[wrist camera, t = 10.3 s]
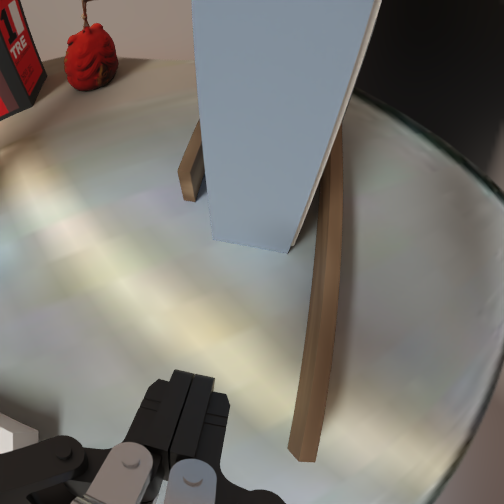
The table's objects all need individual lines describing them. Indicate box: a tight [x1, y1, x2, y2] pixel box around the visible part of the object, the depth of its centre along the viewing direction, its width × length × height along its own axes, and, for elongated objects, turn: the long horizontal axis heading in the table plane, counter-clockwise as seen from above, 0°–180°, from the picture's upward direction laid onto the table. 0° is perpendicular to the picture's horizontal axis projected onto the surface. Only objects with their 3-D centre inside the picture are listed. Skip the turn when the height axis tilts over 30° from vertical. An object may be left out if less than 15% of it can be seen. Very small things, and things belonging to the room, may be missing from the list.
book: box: [192, 0, 382, 254], centre depth 18 cm, size 6×15×21 cm, turn 170°
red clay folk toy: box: [64, 0, 118, 91], centre depth 27 cm, size 8×7×15 cm
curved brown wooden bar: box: [178, 119, 343, 462], centre depth 23 cm, size 12×33×4 cm, turn 170°
